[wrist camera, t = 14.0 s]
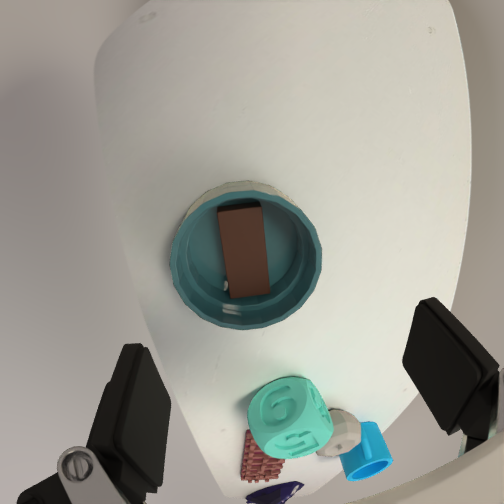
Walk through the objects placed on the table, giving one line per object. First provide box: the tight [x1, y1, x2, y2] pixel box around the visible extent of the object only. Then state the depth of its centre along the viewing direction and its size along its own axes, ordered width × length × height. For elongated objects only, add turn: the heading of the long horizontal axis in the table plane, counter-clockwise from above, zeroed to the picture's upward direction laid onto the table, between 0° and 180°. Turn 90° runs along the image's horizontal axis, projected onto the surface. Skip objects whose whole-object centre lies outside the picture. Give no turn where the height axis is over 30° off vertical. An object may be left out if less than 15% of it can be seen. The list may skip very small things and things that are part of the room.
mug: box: [339, 422, 393, 481], centre depth 38 cm, size 12×8×8 cm
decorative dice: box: [247, 377, 334, 459], centre depth 32 cm, size 8×8×8 cm
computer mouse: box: [245, 481, 304, 504], centre depth 49 cm, size 9×15×4 cm, turn 126°
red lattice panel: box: [241, 430, 285, 483], centre depth 41 cm, size 7×19×2 cm, turn 176°
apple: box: [316, 409, 361, 457], centre depth 35 cm, size 8×8×7 cm
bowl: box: [170, 181, 322, 330], centre depth 25 cm, size 12×12×5 cm
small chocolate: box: [217, 202, 270, 299], centre depth 25 cm, size 8×4×2 cm, turn 6°
